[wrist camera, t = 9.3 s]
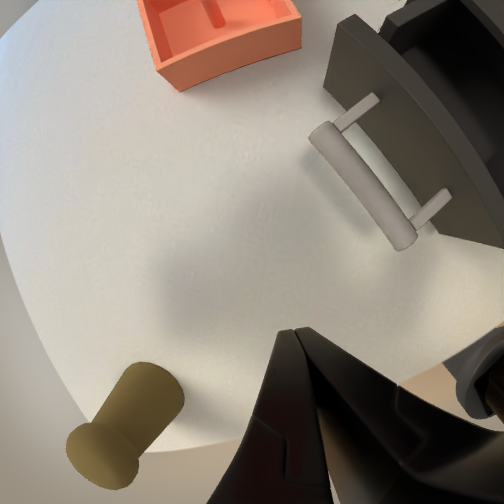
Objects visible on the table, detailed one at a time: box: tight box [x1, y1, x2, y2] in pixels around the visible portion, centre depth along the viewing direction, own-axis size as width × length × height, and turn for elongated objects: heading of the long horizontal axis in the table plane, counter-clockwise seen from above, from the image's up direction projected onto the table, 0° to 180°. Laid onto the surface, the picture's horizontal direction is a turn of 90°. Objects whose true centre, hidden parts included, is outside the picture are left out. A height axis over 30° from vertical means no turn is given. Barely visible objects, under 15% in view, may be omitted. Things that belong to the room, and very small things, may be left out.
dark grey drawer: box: [308, 0, 504, 251], centre depth 13 cm, size 18×13×8 cm
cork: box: [66, 362, 184, 490], centre depth 18 cm, size 6×6×11 cm
